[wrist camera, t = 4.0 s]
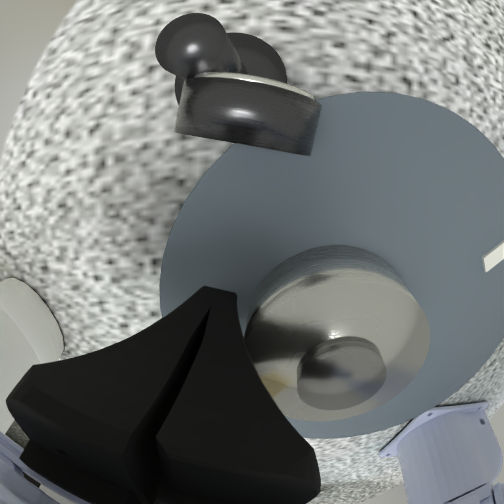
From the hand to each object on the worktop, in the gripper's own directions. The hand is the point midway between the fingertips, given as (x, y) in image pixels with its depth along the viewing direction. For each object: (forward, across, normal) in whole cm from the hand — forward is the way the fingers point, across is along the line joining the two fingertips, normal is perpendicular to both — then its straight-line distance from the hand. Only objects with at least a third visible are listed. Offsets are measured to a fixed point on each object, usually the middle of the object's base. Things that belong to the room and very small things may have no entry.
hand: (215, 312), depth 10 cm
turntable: (+2, -7, 0) cm, 7 cm away
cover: (+1, -4, 0) cm, 4 cm away
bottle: (+4, +16, +9) cm, 18 cm away
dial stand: (+4, +1, -8) cm, 9 cm away
